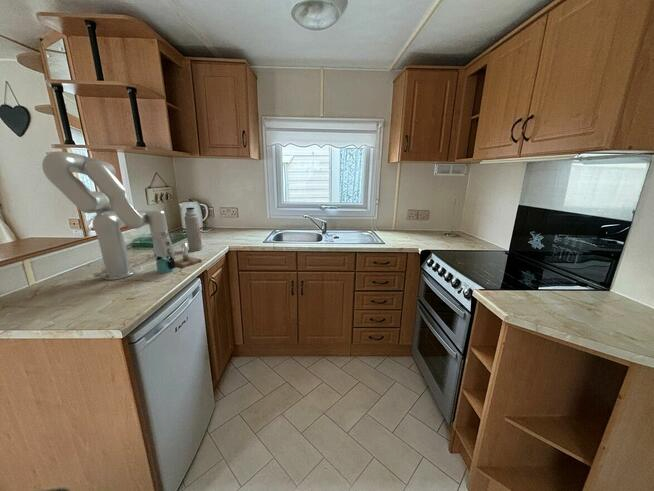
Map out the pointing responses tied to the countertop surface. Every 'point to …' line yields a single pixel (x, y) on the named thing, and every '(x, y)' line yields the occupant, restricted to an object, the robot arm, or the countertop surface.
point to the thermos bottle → (193, 230)
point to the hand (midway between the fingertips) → (166, 267)
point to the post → (185, 251)
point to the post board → (187, 262)
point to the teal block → (163, 266)
